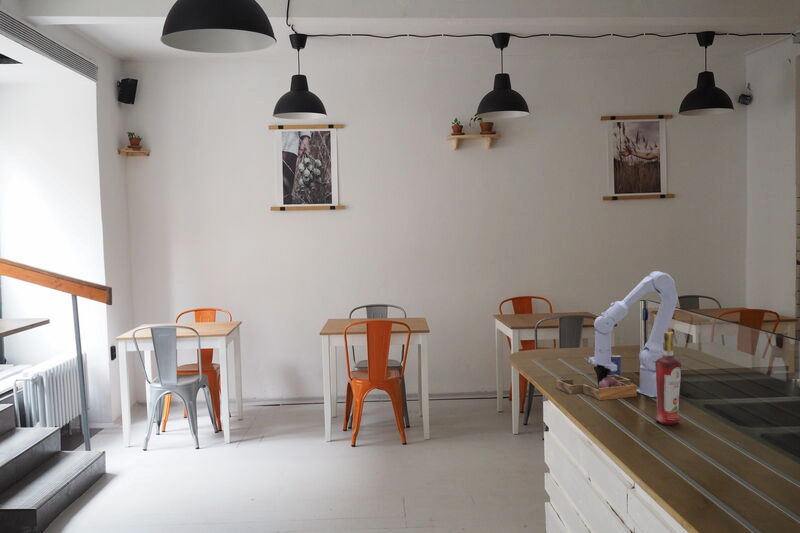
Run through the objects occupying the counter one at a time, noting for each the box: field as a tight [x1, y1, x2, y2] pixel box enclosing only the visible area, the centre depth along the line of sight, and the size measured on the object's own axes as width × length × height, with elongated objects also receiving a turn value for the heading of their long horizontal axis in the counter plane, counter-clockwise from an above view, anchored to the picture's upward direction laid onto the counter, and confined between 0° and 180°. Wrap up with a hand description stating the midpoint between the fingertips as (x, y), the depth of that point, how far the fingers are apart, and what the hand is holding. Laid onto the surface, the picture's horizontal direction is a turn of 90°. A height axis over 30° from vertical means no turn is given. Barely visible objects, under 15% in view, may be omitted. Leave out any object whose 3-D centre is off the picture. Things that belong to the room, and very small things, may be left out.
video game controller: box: [598, 377, 622, 388], centre depth 227 cm, size 10×5×7 cm, turn 134°
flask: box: [608, 351, 622, 377], centre depth 250 cm, size 9×3×11 cm, turn 88°
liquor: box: [655, 331, 682, 426], centre depth 193 cm, size 7×7×28 cm
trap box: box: [555, 374, 638, 401], centre depth 230 cm, size 20×26×4 cm
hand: (602, 385), depth 230 cm, fingers closed, pressing on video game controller
